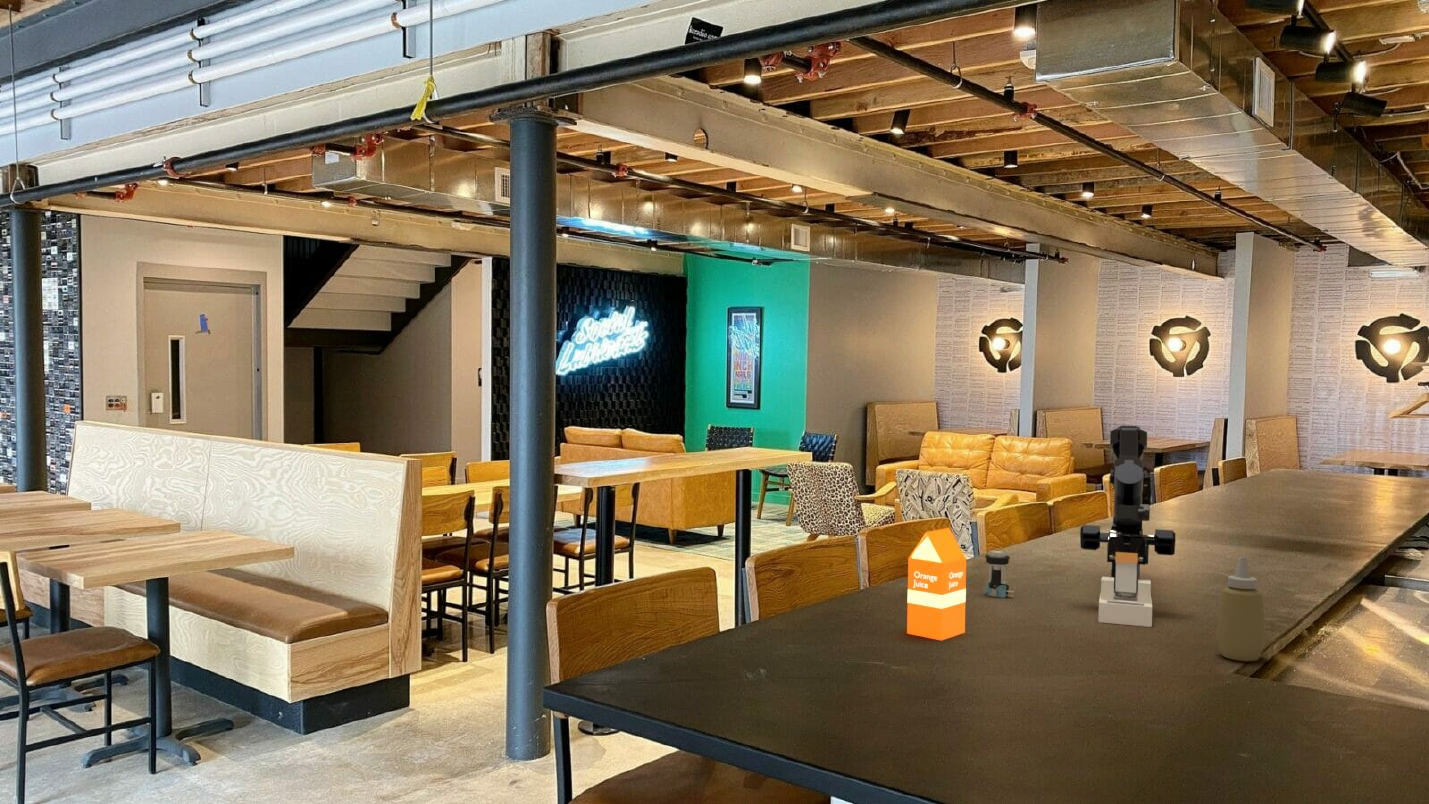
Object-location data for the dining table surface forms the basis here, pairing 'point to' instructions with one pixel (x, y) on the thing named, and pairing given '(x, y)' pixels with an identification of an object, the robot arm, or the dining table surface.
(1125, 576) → the lever
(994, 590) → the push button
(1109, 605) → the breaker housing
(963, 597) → the orange juice
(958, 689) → the dining table surface
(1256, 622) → the squeeze bottle
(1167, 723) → the dining table surface
